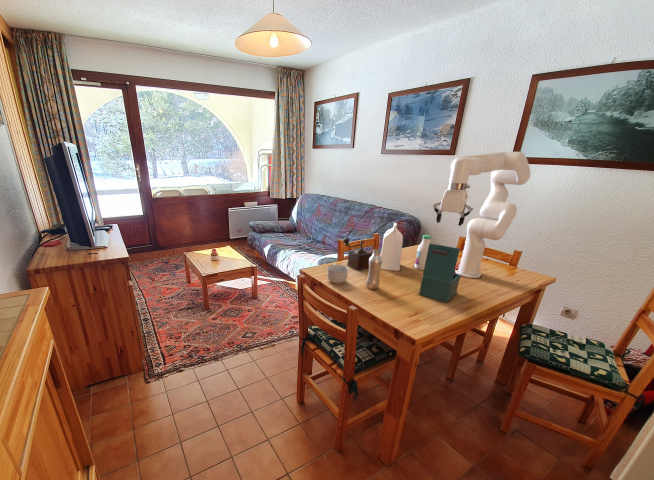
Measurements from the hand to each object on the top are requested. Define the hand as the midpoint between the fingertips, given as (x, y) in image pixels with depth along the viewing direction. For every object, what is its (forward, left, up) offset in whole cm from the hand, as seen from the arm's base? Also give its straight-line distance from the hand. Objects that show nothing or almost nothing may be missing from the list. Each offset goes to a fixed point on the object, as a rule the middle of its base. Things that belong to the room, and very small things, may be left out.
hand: (448, 223), depth 149 cm
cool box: (+9, +7, -32) cm, 34 cm away
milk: (-2, -32, -32) cm, 46 cm away
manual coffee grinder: (+16, -42, -32) cm, 55 cm away
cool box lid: (+15, +9, -14) cm, 23 cm away
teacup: (+40, -32, -32) cm, 61 cm away
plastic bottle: (+31, -15, -32) cm, 47 cm away
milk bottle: (-16, -20, -32) cm, 41 cm away
